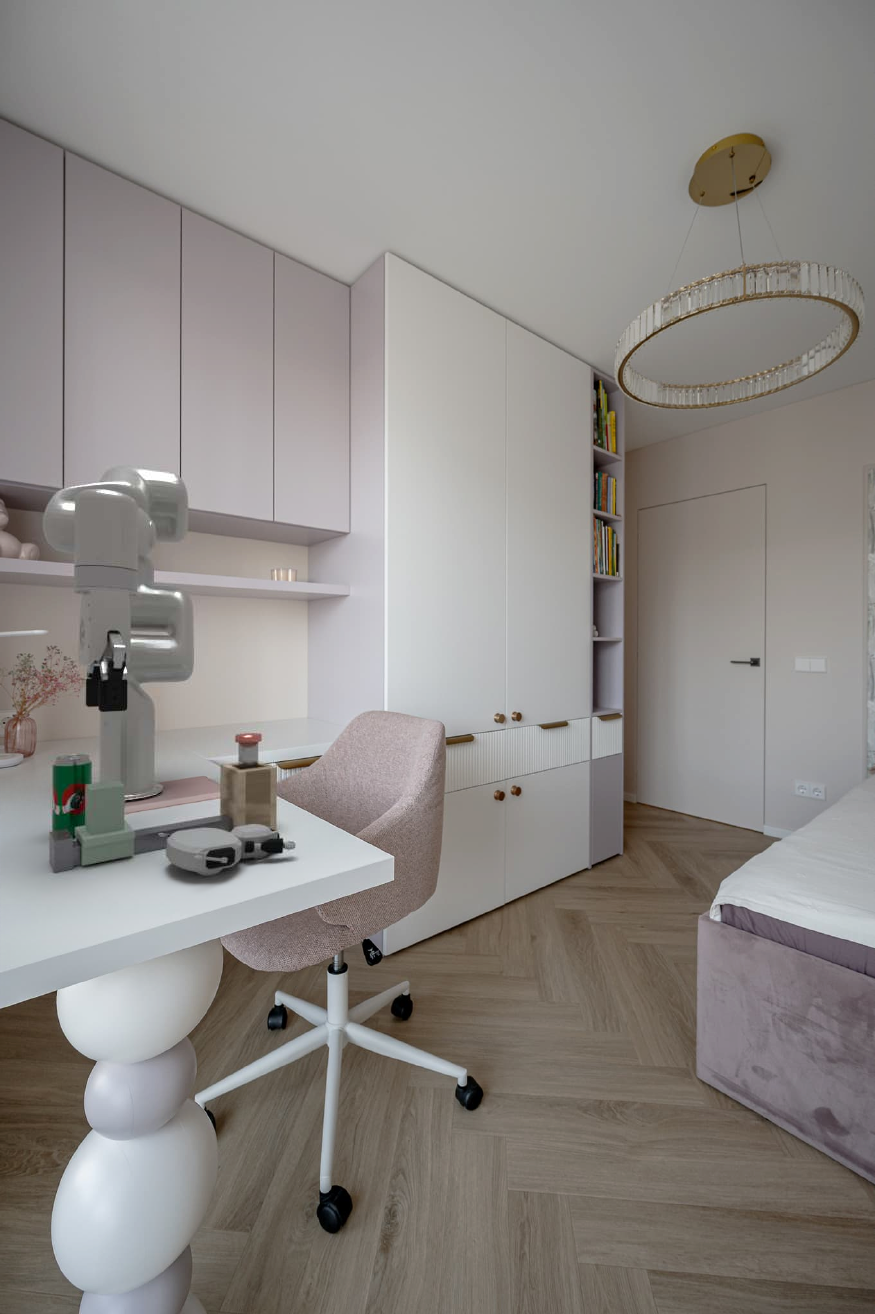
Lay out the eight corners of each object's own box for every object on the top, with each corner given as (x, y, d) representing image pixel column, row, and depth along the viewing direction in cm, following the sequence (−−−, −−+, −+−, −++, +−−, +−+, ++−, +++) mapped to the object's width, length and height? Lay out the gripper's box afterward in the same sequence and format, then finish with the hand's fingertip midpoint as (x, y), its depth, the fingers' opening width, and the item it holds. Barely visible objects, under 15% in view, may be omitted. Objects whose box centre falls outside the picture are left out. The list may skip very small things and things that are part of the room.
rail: (49, 861, 75) (49, 831, 75) (229, 827, 90) (229, 802, 90) (54, 872, 71) (54, 841, 71) (241, 834, 87) (241, 809, 87)
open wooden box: (220, 826, 91) (220, 764, 91) (256, 819, 95) (256, 760, 95) (238, 838, 85) (239, 772, 85) (276, 830, 89) (276, 767, 89)
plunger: (231, 771, 90) (231, 734, 90) (255, 768, 93) (255, 732, 93) (240, 776, 87) (240, 737, 87) (265, 772, 90) (265, 735, 90)
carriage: (74, 852, 78) (75, 783, 78) (123, 843, 82) (124, 777, 82) (83, 867, 72) (83, 793, 72) (134, 856, 76) (135, 786, 76)
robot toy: (256, 845, 85) (151, 863, 74) (258, 815, 85) (154, 828, 75) (300, 867, 76) (188, 890, 66) (302, 833, 77) (191, 851, 66)
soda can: (98, 830, 89) (99, 754, 89) (75, 840, 84) (75, 759, 84) (69, 829, 89) (69, 753, 89) (43, 839, 84) (44, 759, 84)
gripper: (65, 587, 81) (64, 706, 81) (85, 573, 68) (84, 715, 68) (123, 591, 86) (122, 703, 86) (152, 579, 73) (152, 711, 73)
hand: (105, 708), depth 77 cm, fingers open, 9 cm apart
